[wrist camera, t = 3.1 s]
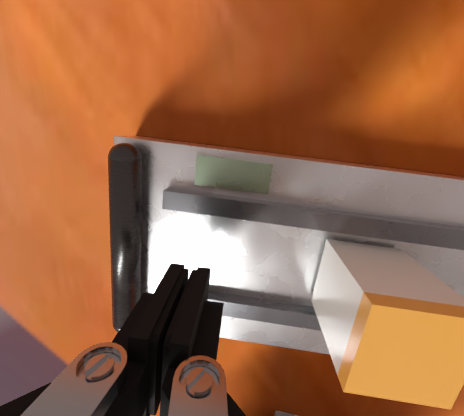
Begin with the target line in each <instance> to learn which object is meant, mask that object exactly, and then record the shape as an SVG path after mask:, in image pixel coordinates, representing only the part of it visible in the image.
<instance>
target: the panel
mask: <svg viewBox="0 0 464 416" xmlns="http://www.w3.org/2000/svg"><path fill="white" fill-rule="evenodd" d="M114 140H115V146H113V147H112V148H111V150H110V151H109V154H108V173H109V210H110V247H111V283H112V320H113V327H114V329H115V330H116V331H117V332H119V330H120V329H121V327H122V326H123V324H124V322H125V321H126V319H127V318H128V316H129V315H130V313H131V312H132V310H133V309H134V307H135V305H136V304H137V302H138V301H139V299H140V298H141V296H142V295H143V294H144V293H145V292H149V293H154V291H155V290H156V288H157V286H158V285H159V283H160V281H161V279H162V278H163V276H164V274H165V273H166V271H167V269H168V267H169V266H170V264H171V263H174V264H182V265H185V269H189V276H190V274H191V271H192V270H197V267H204V268H211V273H210V282H209V292H208V301H213V302H221V303H224V305H223V313H222V321H221V329H220V336H219V337H222V338H228V339H234V340H241V341H247V342H253V343H260V344H266V345H272V346H279V347H285V348H291V349H298V350H304V351H310V352H317V353H323V354H329V355H330V353H329V350H328V347H327V344H326V341H325V339H324V336H323V333H322V330H321V327H320V324H319V321H318V319H317V316H316V313H315V310H314V307H313V304H312V302H311V299H312V295H313V291H314V287H315V283H316V279H317V275H318V271H319V267H320V263H321V259H322V255H323V251H324V247H325V243H326V239H331V240H338V241H346V242H353V243H360V244H367V245H375V246H382V247H389V248H396V249H401V250H403V251H404V252H405V253H407V254H408V255H409V256H410V257H412V258H413V259H414V260H416V261H417V262H418V263H419V264H421V265H422V266H423V267H425V268H426V269H427V270H428V271H430V272H431V273H432V274H434V275H435V276H436V277H437V278H439V279H440V280H441V281H443V282H444V283H445V284H446V285H448V286H449V287H450V288H452V289H453V290H454V291H455V292H457V293H458V294H459V295H461V296H462V297H463V298H464V177H460V176H452V175H444V174H436V173H428V172H420V171H412V170H404V169H396V168H388V167H380V166H372V165H364V164H356V163H348V162H340V161H332V160H325V159H317V158H309V157H301V156H293V155H285V154H277V153H269V152H261V151H253V150H245V149H237V148H229V147H221V146H213V145H205V144H197V143H189V142H181V141H173V140H165V139H157V138H149V137H141V136H114ZM188 279H189V277H188Z"/></svg>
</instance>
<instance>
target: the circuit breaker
mask: <svg viewBox="0 0 464 416" xmlns="http://www.w3.org/2000/svg"><path fill="white" fill-rule="evenodd" d="M274 416H299V415H294V414H290V413H286V412H282V411H277V410H276V411H275V414H274Z"/></svg>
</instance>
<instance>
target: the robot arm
mask: <svg viewBox="0 0 464 416" xmlns="http://www.w3.org/2000/svg"><path fill="white" fill-rule="evenodd" d="M210 273H211V268H204V267H197V270H192V271H191V274H190V276H189V269H185V265H182V264H174V263H171V264H170V266H169V267H168V269H167V271H166V273H165V274H164V276H163V278H162V279H161V281H160V283H159V285H158V286H157V288H156V290H155V291H154V293H149V292H145V293H144V294H143V295H142V296H141V298H140V299H139V301H138V302H137V304H136V305H135V307H134V309H133V310H132V312H131V313H130V315H129V316H128V318H127V319H126V321H125V322H124V324H123V326H122V327H121V329H120V330H119V332H118V333H117V335H116V336H115V338H114V340H113V341H112V343H111V342H105V343H99V344H96V345H93V346H91V347H89V348H87V349H85V350H84V351H83V352H81V353H80V354H79V355H78V356H77V357H76V358H75V359H74V360H73V361H72V362H71V363H70V364H69V365H68V366H67V367H66V368H65V369H64V370H63V371H62V372H61V374H60V375H59V376H58V377H57V378H56V379H55V380H54V381H53V382H51V383H49V384H47V385H45V386H43V387H40V388H38V389H36V390H34V391H32V392H30V393H28V394H26V395H24V396H21V397H19V398H17V399H15V400H13V401H11V402H9V403H7V404H4V405H2V406H0V416H150V415H156V413H157V410H158V407H159V404H160V416H246V415H245V414H244V413H243V412H242V410H241V409H240V408H239V407H238V405H237V404H236V403H235V402H234V400H233V399H232V398H231V397H230V395H229V394H228V393H227V391H226V377H225V373H224V370H223V368H222V367H221V365H220V364H219V363H218V362H217V361H216V358H217V351H218V343H219V336H220V329H221V321H222V313H223V305H224V303H221V302H213V301H208V292H209V282H210ZM188 277H189V279H188ZM160 401H161V402H160Z"/></svg>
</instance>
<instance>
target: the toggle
mask: <svg viewBox="0 0 464 416" xmlns="http://www.w3.org/2000/svg"><path fill="white" fill-rule="evenodd" d="M311 302H312V304H313V307H314V310H315V313H316V316H317V319H318V321H319V324H320V327H321V330H322V333H323V336H324V339H325V341H326V344H327V347H328V350H329V353H330V356H331V359H332V361H333V364H334V367H335V370H336V373H337V376H338V379H339V381H340V384H341V387H342V390H343V392H346V393H352V394H358V395H364V396H370V397H376V398H383V399H389V400H395V401H401V402H407V403H413V404H419V405H425V406H432V407H438V408H444V409H450V410H451V408H452V406H453V404H454V402H455V400H456V398H457V396H458V394H459V392H460V390H461V389H462V387H463V385H464V298H463V297H462V296H461V295H459V294H458V293H457V292H455V291H454V290H453V289H452V288H450V287H449V286H448V285H446V284H445V283H444V282H443V281H441V280H440V279H439V278H437V277H436V276H435V275H434V274H432V273H431V272H430V271H428V270H427V269H426V268H425V267H423V266H422V265H421V264H419V263H418V262H417V261H416V260H414V259H413V258H412V257H410V256H409V255H408V254H407V253H405V252H404V251H403V250H401V249H396V248H389V247H382V246H375V245H367V244H360V243H353V242H346V241H338V240H331V239H326V243H325V247H324V251H323V255H322V259H321V263H320V267H319V271H318V275H317V279H316V283H315V287H314V291H313V295H312V299H311Z"/></svg>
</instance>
